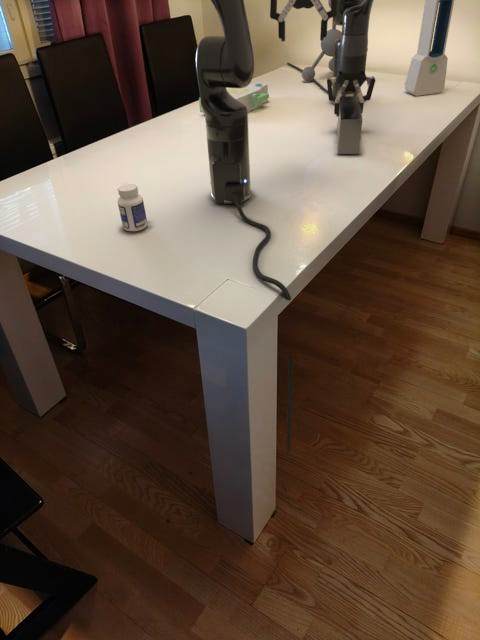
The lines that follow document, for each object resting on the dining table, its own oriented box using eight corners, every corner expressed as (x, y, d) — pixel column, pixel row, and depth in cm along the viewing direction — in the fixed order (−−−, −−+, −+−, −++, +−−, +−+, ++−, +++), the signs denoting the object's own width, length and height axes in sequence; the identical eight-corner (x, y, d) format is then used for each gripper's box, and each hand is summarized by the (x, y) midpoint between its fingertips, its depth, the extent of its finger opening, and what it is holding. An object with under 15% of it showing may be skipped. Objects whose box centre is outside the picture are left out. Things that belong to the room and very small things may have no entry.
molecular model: (291, 76, 212) (292, -6, 194) (337, 70, 217) (342, -11, 198) (313, 87, 194) (316, -2, 176) (362, 81, 199) (371, -7, 180)
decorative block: (232, 78, 185) (277, 83, 175) (233, 96, 189) (277, 102, 179) (189, 94, 169) (235, 100, 159) (191, 113, 173) (236, 121, 163)
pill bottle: (149, 220, 107) (142, 181, 102) (146, 231, 103) (138, 191, 98) (125, 221, 107) (116, 182, 102) (121, 232, 103) (112, 193, 98)
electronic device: (413, 96, 177) (429, -3, 159) (402, 91, 183) (416, -4, 164) (444, 92, 179) (462, -6, 161) (432, 88, 185) (449, -7, 167)
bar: (358, 154, 133) (362, 119, 127) (337, 154, 134) (340, 119, 128) (355, 127, 151) (358, 96, 145) (337, 127, 152) (339, 96, 146)
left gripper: (268, -49, 97) (269, 44, 107) (341, -53, 95) (335, 42, 104) (271, -50, 102) (272, 38, 112) (340, -54, 100) (334, 36, 110)
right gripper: (378, 48, 137) (371, 111, 147) (327, 50, 139) (323, 112, 150) (380, 54, 131) (373, 119, 142) (326, 55, 133) (323, 119, 144)
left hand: (302, 40), depth 108 cm, fingers open, 8 cm apart
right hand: (347, 115), depth 146 cm, fingers closed on bar, 5 cm apart
